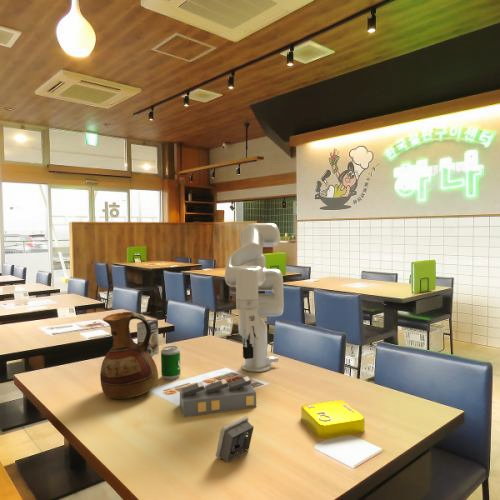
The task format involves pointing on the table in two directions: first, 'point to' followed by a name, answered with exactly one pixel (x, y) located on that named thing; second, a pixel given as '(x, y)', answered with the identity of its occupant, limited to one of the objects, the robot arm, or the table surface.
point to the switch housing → (217, 400)
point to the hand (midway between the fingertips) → (248, 357)
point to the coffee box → (153, 341)
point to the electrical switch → (234, 439)
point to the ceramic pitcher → (127, 360)
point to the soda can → (170, 362)
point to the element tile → (332, 419)
